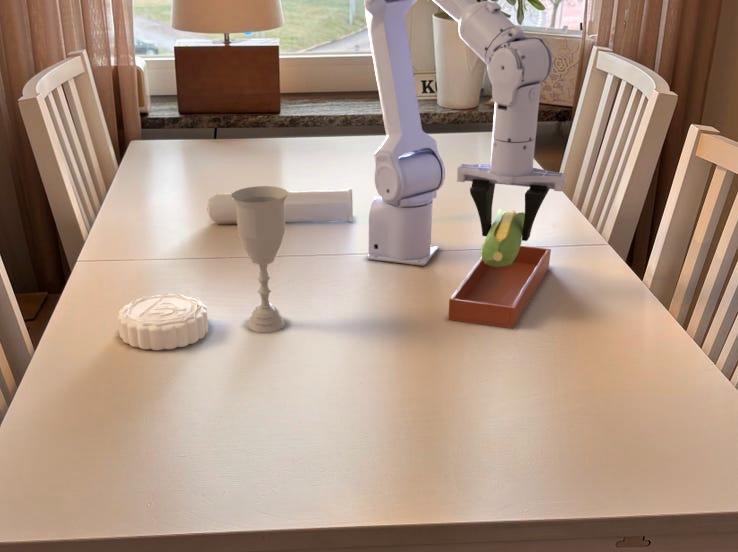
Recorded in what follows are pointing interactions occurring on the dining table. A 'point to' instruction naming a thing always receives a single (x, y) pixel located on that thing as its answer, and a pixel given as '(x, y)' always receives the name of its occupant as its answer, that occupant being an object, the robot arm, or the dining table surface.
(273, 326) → the chalice
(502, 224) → the edible corn
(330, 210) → the tube
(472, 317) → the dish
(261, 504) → the dining table surface
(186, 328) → the mooncake
